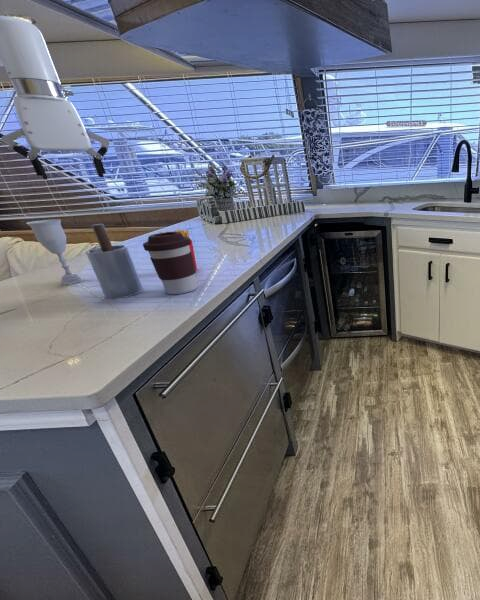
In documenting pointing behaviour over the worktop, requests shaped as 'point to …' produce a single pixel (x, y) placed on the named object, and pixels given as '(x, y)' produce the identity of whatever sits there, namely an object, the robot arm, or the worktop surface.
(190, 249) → the french fries
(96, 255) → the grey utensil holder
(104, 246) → the brush
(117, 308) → the worktop surface
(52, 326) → the worktop surface
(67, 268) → the chalice
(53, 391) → the worktop surface
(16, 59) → the robot arm
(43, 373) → the worktop surface
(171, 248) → the coffee cup
